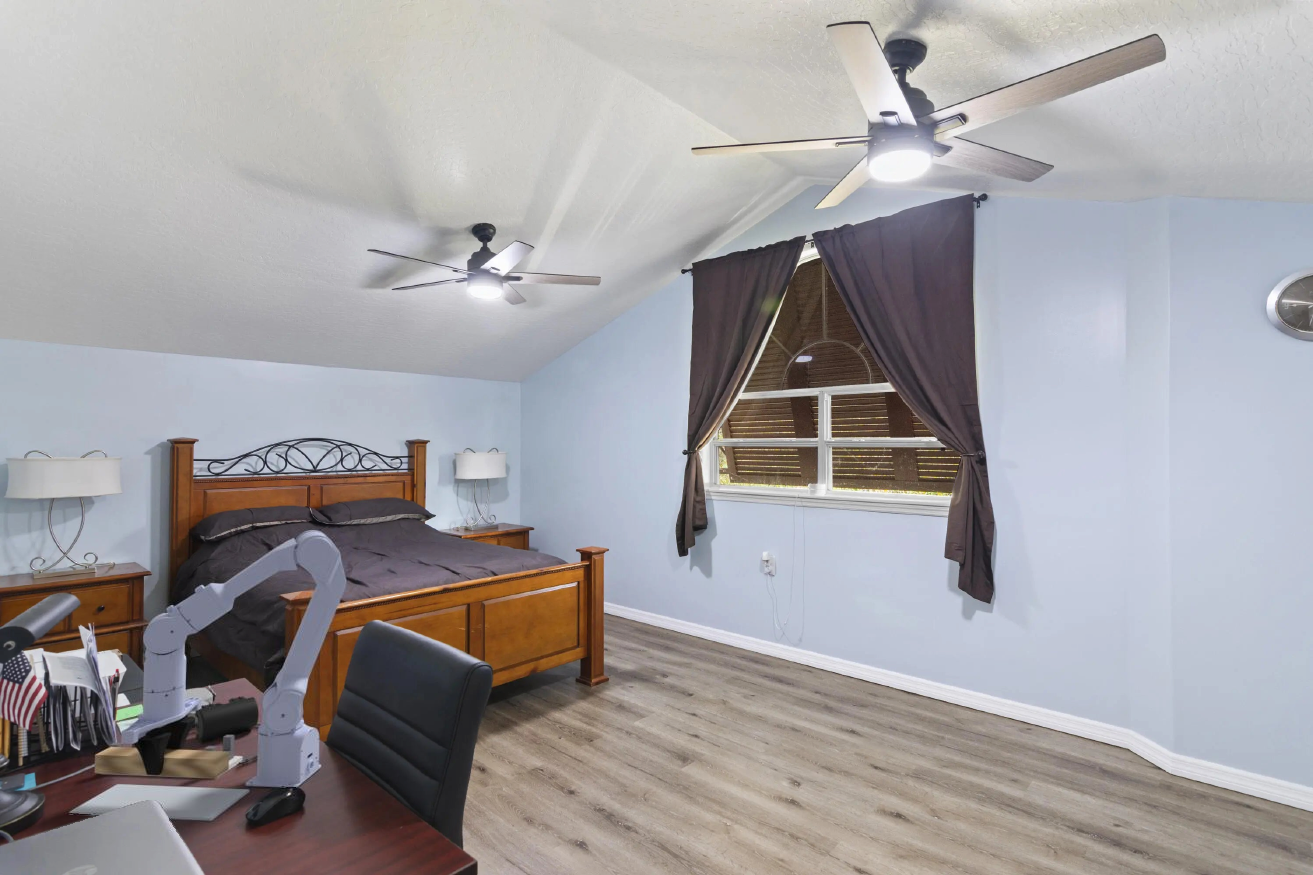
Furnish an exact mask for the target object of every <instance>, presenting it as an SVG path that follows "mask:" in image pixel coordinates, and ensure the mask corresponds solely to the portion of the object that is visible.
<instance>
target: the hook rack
mask: <svg viewBox="0 0 1313 875" xmlns="http://www.w3.org/2000/svg"><path fill="white" fill-rule="evenodd" d="M235 735H236V734H234V735H226V736H224V737H223V738H222V751H228V752H229V770H231V769H232V768H234V767H235V766H237V765H238V764H239V762H240V763H241V762H242V761H243V756H241V755H235ZM123 744H124V743H121V742H113V743H110V744H109V748H110V747H123ZM130 748H136V747H135V746H134V744H131V747H130ZM203 749H204V750H203V751H217V746H216V745H207V746H206V747H205V748H203ZM229 770H227V771H226V772H228V771H229ZM226 772H224V773H223V774H226ZM99 774H100V775H105V774H104V773H99ZM223 774H221V775H220V776H218V777H217V778H219V777H221V776H222V775H223ZM114 775H116V776H117V775H121V776H129V775H128V774H114ZM139 776H145V777H147V776H148V777H153V776H152V775H139ZM164 777H167V778H169V777H171V778H177V777H176V776H164ZM188 778H189V779H190V778H193V779H196V778H197V779H200V778H199V777H188ZM217 778H213V779H214V780H215V779H217Z"/></svg>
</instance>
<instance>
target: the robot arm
mask: <svg viewBox="0 0 1313 875" xmlns="http://www.w3.org/2000/svg"><path fill="white" fill-rule="evenodd" d="M297 564H299V565H300V566H301V567H302V568H304V570H306V571H307V572H309V574H310V575H311V577H312V579H313V581H314V582H315V584H316V586H315V589H314V591H313V594H312V596H311V598H310V600H309V603H308V605H307V608H306V611H305V612H304V615H303V617H302V619H301V622H300V625H299V627H298V629H297V632H296V634H295V637H294V639H293V641H292V643H291V646H290V648H289V650H288V654H287V656H286V657H285V661H284V662H283V666H282V668H281V669H280V671H278V673H277V675H276V676H275V679H274V681H273V683H272V684H271V685H270V686H269V687H268V688H267V689H266V690H265V691H264V693H263V694H262V695H261V699H260V708H261V711H262V712H261V713H262V716H261V721H262V722H261V724H259V726H258V727H257V762H256V763H257V764H256V765H257V769H256V770H257V772H256V773H257V774H256V775H254V776H253V777H251V778H250V779H248V781H246V782H245V786H246V787H263V788H264V787H267V788H268V787H269V788H283V787H282V786H292V787H296V788H298V787H299V786H300V785H302V784H303V783H304V782H306V781H307V779H309V778H310V777H312V775H314V774H315V773H316V772H317V771H318V770H320V769H321V767H322V764H320V733H319V730H318V729H317V728H316V727H312V726H309V725H307V724H305V721H304V718H303V715H304V708H303V703H304V698H305V696H306V693H307V688H308V682H309V678H310V675H311V672H312V671H313V668H314V665H315V663H316V661H317V658H318V656H319V653H320V651H321V648H322V646H323V643H324V641H325V638H326V635H327V634H328V632H329V629H330V625H331V624H332V621H333V618H334V617H335V615H336V612H337V610H338V606H339V604H340V602H341V599H342V596H343V594H344V593H345V589H346V587H347V577H346V574H345V571H344V570H345V569H344V566H343V562H342V557H341V552H340V550H339V549H338V548H337V546H336V545H335V543H334V542H333V541H332V539H330V538H329V537H328V536H327V535H326V533H324V532H322V531H320V530H316V529H311V530H306V531H304V532H301V533H300V534H299V535H298V536H297V537H296V538H294V537H292V538H291V539H289V540H287V541H285V542H283V543H281V544H280V545H278V546H276V547H275V548H273V549H272V550H270V551H269V552H268V553H266V554H264V555H263V556H262V557H260V558H259V559H258V560H256V561H254V562H253V563H251V564H250V565H249V566H247V567H246V568H245V569H243V570H242V571H240V572H238V573H237V574H235V575H234V576H232V577H231V578H230V579H228V580H227V581H226V582H224V583H215V582H211V583H209V584H207V585H205V586H204V585H203V584H201V585H199V586H197V587H196V588H195V589H194V592H195V593H194V594H192V595H190V596H188V597H187V598H186V599H184V600H182V601H181V602H179V603H178V604H176V605H173V604H172V605H169V606H168V607H167V608H166V610H165V611H166V612H163V613H160V614H157V615H156V616H155V617H153V618H152V619H151V620H150V622H149V623H148V624H147V627H146V629H145V631H144V632H143V638H142V639H143V640H142V641H143V644H144V646H145V648H146V649H145V652H144V657H145V660H144V663H143V685H142V686H143V688H142V689H143V692H142V693H143V695H142V697H143V698H142V700H143V702H142V712H140V713H138V714H137V720H136V721H134V722H133V723H132V724H131V725H129V726H128V727H127V728H125V729H123V730H121V742H120V743H123V744H127V745H128V744H129V745H130V744H131V745H132V744H134V746H135V747H136V748H137V750H138V752H139V753H140V755H141V758H142V760H143V763H144V767H145V770H146V773H147V775H159V774H161V773H162V769H163V764H164V754H165V749H177V750H184V749H183V748H184V745H185V743H186V741H187V738H188V736H189V733H190V731H191V730H192V728H193V727H194V725H195V717H187V714H188V713H190V712H192V711H197V710H199V709H201V703H202V698H189V699H187V700H185V690H187V689H186V688H187V687H186V681H187V680H186V679H187V678H186V677H187V675H186V674H187V656H186V654H185V650H186V649H185V646H186V645H185V644H186V640H187V639H188V636H190V635H193V634H197V633H198V632H200V631H201V630H203V629H204V628H206V627H208V626H209V625H211V623H213V622H214V621H216V620H218V619H219V618H221V617H222V616H224V615H225V614H227V613H228V612H229V611H231V610H232V609H233V608H234V607H233V606H234V602H235V600H236V598H238V597H239V596H241V595H242V594H245V592H247V591H249V590H251V589H252V588H253V587H256V585H259V584H260V583H262V582H263V581H265V580H267V579H268V578H269V577H271V576H273V575H274V574H277V573H278V572H285V571H298V567H297Z"/></svg>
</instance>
